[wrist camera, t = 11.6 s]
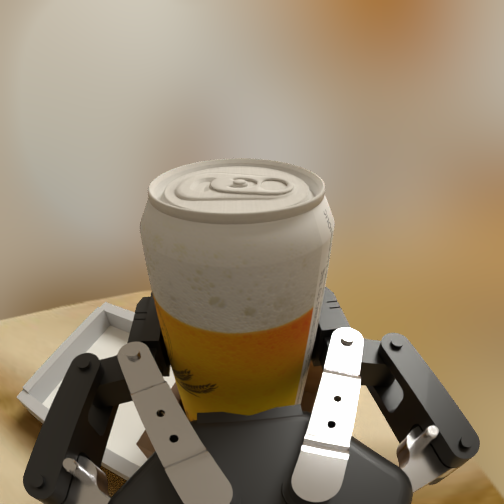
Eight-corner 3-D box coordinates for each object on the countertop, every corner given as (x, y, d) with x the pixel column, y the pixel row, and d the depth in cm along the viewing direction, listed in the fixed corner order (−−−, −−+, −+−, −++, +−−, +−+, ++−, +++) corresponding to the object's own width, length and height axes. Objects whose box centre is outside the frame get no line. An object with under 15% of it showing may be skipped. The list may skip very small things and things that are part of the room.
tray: (31, 413, 17) (15, 395, 16) (111, 320, 27) (104, 300, 26) (319, 544, 11) (329, 541, 10) (354, 388, 21) (363, 368, 20)
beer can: (204, 383, 20) (175, 155, 12) (294, 392, 19) (327, 160, 11) (183, 461, 14) (94, 217, 7) (289, 474, 14) (357, 229, 6)
